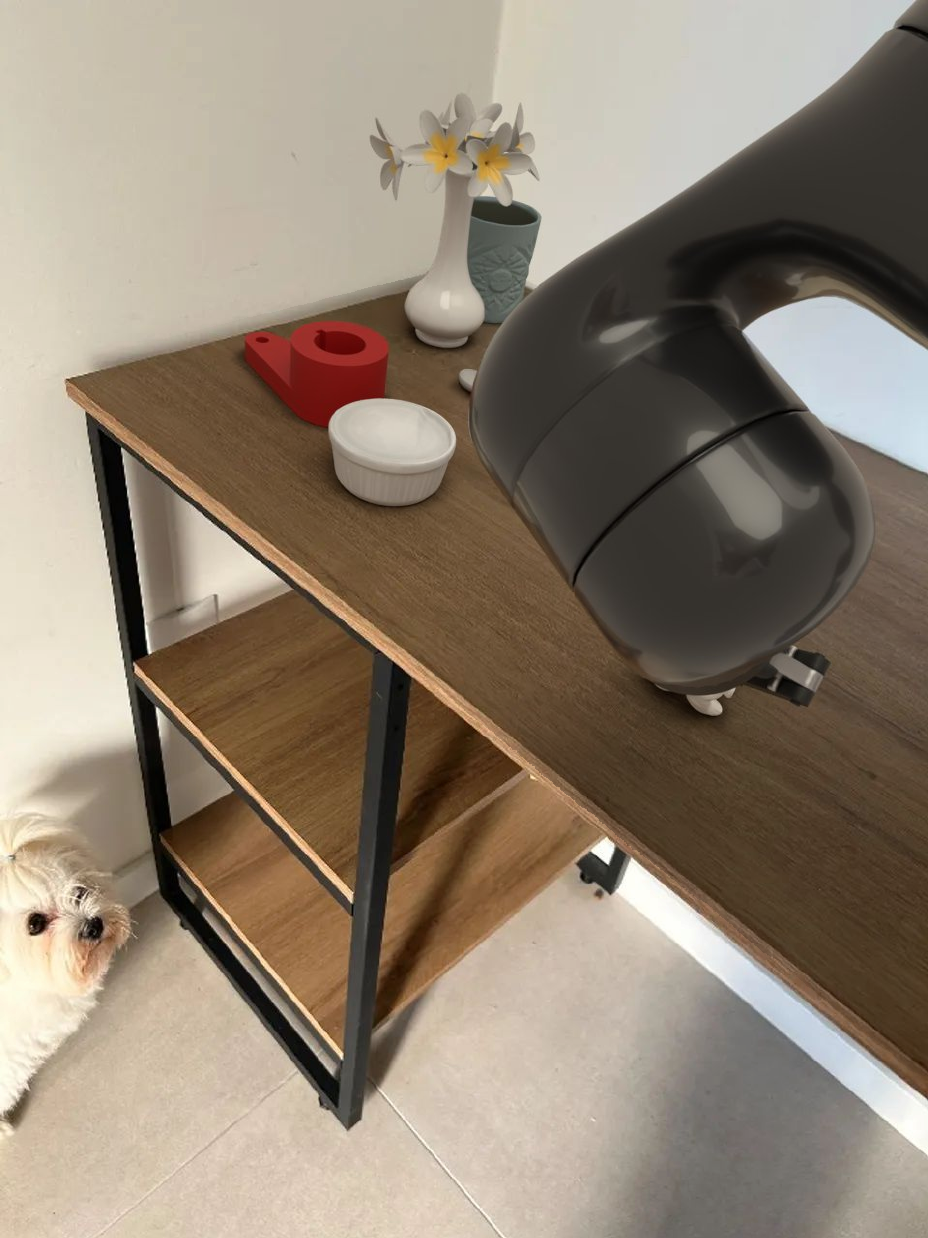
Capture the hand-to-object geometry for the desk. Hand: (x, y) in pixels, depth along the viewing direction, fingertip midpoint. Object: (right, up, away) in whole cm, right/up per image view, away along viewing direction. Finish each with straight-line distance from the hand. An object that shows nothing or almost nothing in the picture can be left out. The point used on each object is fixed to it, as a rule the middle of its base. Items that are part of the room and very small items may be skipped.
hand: (706, 651), depth 55 cm
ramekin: (-21, +15, +30) cm, 40 cm away
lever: (-30, +26, +41) cm, 57 cm away
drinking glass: (-12, +41, +62) cm, 75 cm away
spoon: (-11, +24, +43) cm, 51 cm away
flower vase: (-17, +34, +54) cm, 66 cm away
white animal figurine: (+4, -3, +16) cm, 17 cm away
